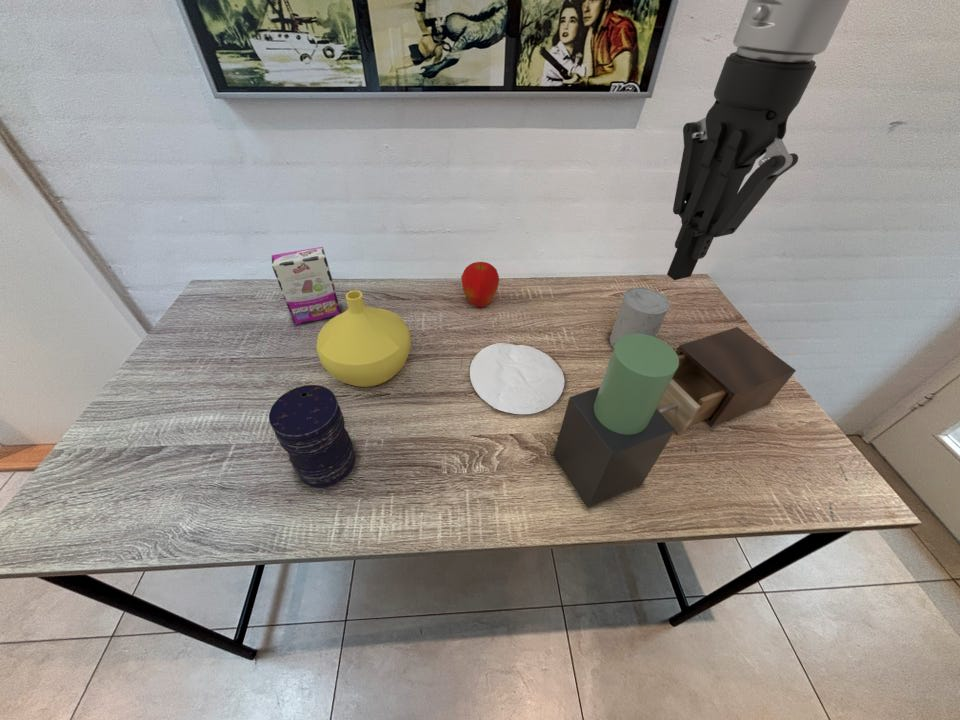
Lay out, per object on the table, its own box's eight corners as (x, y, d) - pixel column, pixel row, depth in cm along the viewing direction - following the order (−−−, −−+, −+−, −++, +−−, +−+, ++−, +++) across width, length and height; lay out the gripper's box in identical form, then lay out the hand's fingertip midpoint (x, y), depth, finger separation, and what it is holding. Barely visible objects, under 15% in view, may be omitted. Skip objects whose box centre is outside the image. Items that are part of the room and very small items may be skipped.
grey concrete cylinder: (642, 329, 100) (659, 287, 91) (657, 356, 93) (677, 313, 84) (604, 330, 99) (618, 287, 90) (616, 357, 92) (632, 314, 84)
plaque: (453, 361, 89) (453, 357, 88) (528, 335, 97) (529, 330, 96) (500, 431, 78) (501, 427, 76) (582, 395, 85) (583, 390, 84)
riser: (641, 485, 70) (675, 429, 58) (587, 508, 66) (613, 454, 55) (603, 435, 77) (627, 377, 66) (553, 454, 73) (569, 396, 62)
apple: (495, 292, 109) (498, 252, 100) (499, 313, 102) (502, 272, 94) (460, 293, 108) (460, 252, 100) (462, 314, 102) (462, 273, 93)
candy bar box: (339, 304, 103) (323, 245, 92) (342, 316, 100) (326, 256, 88) (292, 313, 100) (270, 253, 89) (294, 326, 97) (271, 265, 85)
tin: (660, 424, 59) (693, 366, 51) (615, 442, 57) (641, 384, 48) (625, 386, 64) (650, 327, 56) (583, 400, 62) (601, 342, 53)
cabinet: (711, 427, 79) (735, 394, 72) (662, 378, 88) (679, 345, 81) (769, 403, 84) (796, 370, 77) (717, 359, 92) (737, 326, 86)
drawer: (656, 444, 74) (672, 417, 69) (614, 395, 83) (625, 368, 77) (736, 412, 80) (756, 385, 75) (689, 369, 89) (704, 342, 83)
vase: (415, 339, 95) (407, 267, 81) (411, 399, 82) (401, 326, 68) (334, 341, 93) (313, 268, 80) (318, 403, 80) (288, 328, 67)
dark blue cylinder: (357, 482, 68) (338, 429, 58) (296, 495, 66) (264, 443, 56) (354, 434, 75) (337, 379, 65) (298, 445, 73) (271, 390, 63)
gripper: (690, 44, 41) (625, 256, 57) (810, 68, 32) (692, 309, 48) (745, 42, 43) (667, 247, 59) (871, 65, 34) (739, 296, 51)
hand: (678, 275), depth 54 cm, fingers closed
